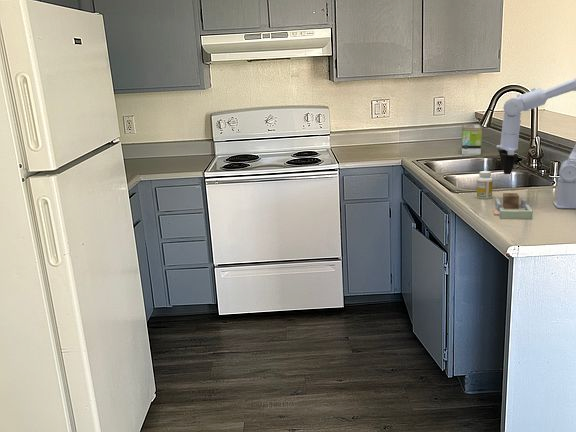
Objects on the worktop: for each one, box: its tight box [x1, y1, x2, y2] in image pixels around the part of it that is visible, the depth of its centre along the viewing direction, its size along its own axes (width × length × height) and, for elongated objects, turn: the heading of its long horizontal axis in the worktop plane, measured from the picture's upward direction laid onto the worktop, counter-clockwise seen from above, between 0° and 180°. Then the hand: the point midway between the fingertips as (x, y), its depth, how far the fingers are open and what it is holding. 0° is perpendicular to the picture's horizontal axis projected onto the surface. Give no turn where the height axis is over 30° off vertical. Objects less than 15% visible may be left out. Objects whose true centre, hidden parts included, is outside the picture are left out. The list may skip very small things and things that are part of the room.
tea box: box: [460, 124, 483, 156], centre depth 303 cm, size 15×10×15 cm
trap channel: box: [492, 197, 533, 220], centre depth 188 cm, size 12×18×2 cm
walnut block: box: [502, 192, 520, 210], centre depth 194 cm, size 4×4×4 cm
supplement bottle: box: [476, 170, 494, 200], centre depth 208 cm, size 5×5×10 cm
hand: (505, 171), depth 198 cm, fingers open, 7 cm apart
